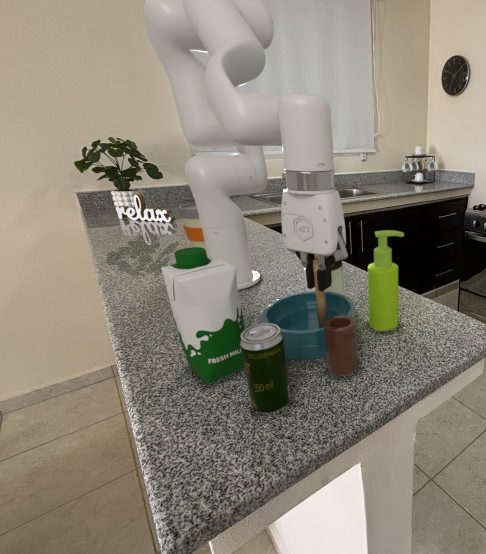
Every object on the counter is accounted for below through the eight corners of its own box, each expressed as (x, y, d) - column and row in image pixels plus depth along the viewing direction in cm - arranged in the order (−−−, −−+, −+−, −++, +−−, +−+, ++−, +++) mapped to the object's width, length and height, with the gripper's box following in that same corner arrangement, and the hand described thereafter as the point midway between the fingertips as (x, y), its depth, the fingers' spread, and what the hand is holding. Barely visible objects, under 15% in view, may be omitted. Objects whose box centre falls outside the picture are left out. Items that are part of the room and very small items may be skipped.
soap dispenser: (404, 331, 70) (406, 235, 63) (370, 334, 69) (367, 236, 61) (400, 317, 75) (401, 227, 68) (368, 319, 74) (366, 228, 67)
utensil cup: (322, 373, 57) (318, 326, 54) (339, 357, 62) (336, 312, 58) (347, 381, 56) (344, 333, 52) (362, 364, 60) (361, 318, 56)
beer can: (288, 386, 54) (278, 319, 50) (295, 409, 50) (285, 337, 45) (250, 397, 52) (237, 327, 47) (254, 422, 47) (240, 347, 43)
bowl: (246, 348, 63) (240, 319, 61) (305, 310, 78) (302, 285, 75) (321, 372, 58) (318, 341, 55) (370, 326, 72) (370, 300, 69)
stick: (317, 333, 66) (310, 258, 60) (322, 329, 67) (316, 255, 61) (324, 335, 65) (318, 259, 59) (329, 331, 66) (323, 257, 61)
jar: (313, 315, 75) (308, 263, 71) (302, 301, 82) (296, 252, 77) (351, 306, 80) (349, 256, 75) (338, 293, 86) (335, 246, 82)
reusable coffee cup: (241, 249, 117) (233, 204, 111) (207, 260, 106) (196, 211, 100) (214, 244, 121) (206, 200, 115) (179, 254, 111) (168, 206, 105)
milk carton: (235, 346, 64) (214, 241, 56) (260, 366, 59) (240, 254, 51) (182, 368, 58) (150, 254, 50) (204, 393, 52) (172, 269, 45)
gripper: (255, 180, 55) (270, 287, 62) (339, 188, 49) (345, 304, 56) (288, 176, 61) (298, 273, 68) (365, 182, 56) (368, 287, 63)
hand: (319, 286), depth 62 cm, fingers closed on stick, 1 cm apart
